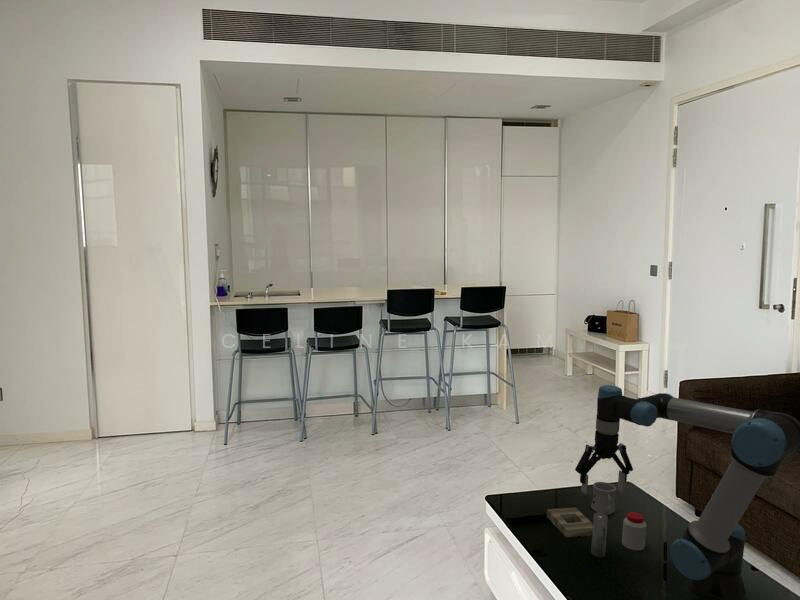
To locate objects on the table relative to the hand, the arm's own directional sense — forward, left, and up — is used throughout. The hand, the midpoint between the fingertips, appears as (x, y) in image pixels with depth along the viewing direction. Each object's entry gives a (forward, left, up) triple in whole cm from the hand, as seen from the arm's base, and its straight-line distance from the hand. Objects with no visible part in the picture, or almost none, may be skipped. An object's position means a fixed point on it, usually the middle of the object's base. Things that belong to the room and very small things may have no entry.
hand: (602, 491), depth 204 cm
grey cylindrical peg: (0, 0, -22) cm, 23 cm away
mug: (+29, -19, -23) cm, 41 cm away
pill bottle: (+4, -16, -23) cm, 28 cm away
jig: (+20, 0, -22) cm, 30 cm away
